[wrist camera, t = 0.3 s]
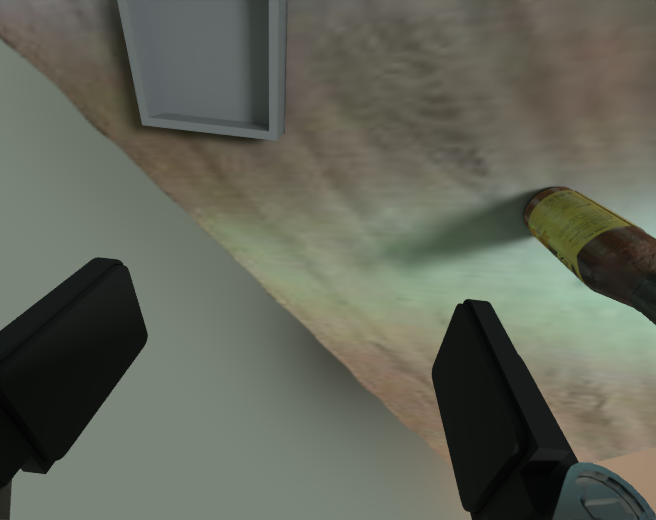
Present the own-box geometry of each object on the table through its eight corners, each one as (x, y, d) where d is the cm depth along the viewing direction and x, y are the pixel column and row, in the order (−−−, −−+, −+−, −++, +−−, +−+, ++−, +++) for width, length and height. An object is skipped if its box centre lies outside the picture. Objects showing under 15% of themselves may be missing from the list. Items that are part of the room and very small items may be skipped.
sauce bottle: (511, 226, 40) (624, 352, 23) (539, 178, 36) (697, 283, 20) (561, 238, 40) (709, 371, 23) (594, 191, 37) (794, 306, 20)
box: (134, -48, 29) (104, -62, 25) (288, -31, 28) (279, -42, 25) (162, 118, 36) (142, 125, 32) (284, 132, 36) (277, 140, 32)
